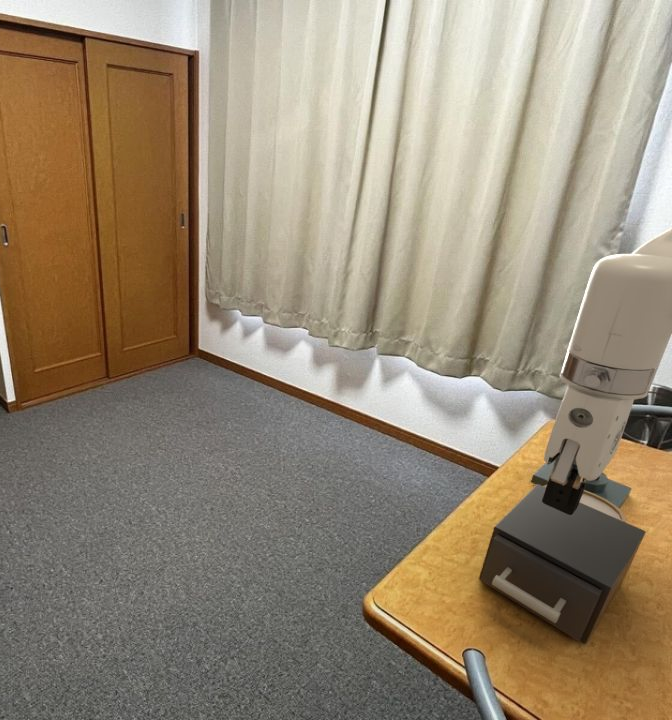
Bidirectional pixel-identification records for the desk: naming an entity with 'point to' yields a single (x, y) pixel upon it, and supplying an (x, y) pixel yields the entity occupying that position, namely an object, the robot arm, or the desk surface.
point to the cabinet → (574, 544)
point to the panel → (590, 485)
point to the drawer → (541, 586)
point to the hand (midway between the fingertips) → (558, 506)
